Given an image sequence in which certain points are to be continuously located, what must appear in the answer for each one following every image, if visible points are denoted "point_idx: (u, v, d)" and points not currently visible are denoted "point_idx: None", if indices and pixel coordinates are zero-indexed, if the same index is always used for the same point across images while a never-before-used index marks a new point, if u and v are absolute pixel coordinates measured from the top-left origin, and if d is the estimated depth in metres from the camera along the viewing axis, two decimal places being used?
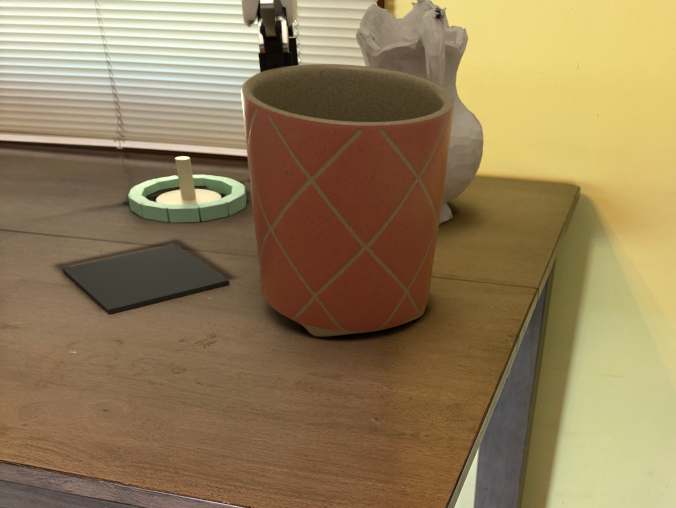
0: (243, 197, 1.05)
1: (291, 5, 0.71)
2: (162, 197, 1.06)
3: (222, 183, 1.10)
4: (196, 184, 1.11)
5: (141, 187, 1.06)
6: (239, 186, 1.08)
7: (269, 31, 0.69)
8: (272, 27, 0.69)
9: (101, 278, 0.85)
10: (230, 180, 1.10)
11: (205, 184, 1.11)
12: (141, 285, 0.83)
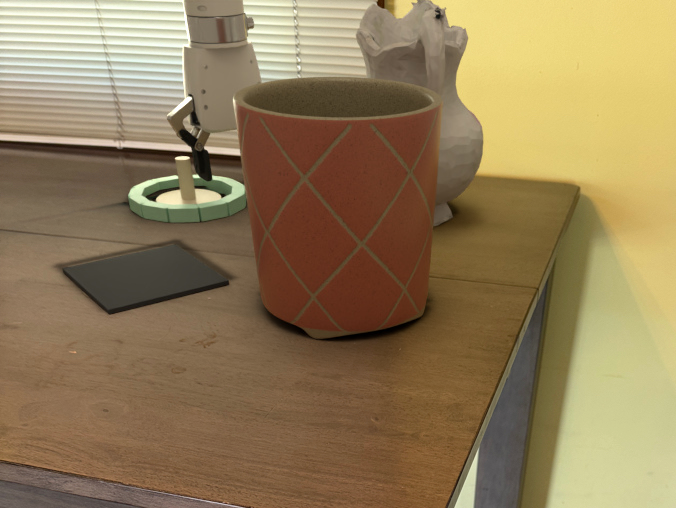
0: (243, 197, 1.05)
1: (203, 120, 1.00)
2: (162, 197, 1.06)
3: (222, 183, 1.10)
4: (196, 184, 1.11)
5: (141, 187, 1.06)
6: (239, 186, 1.08)
7: (178, 134, 1.01)
8: (177, 132, 1.01)
9: (101, 278, 0.85)
10: (230, 180, 1.10)
11: (205, 184, 1.11)
12: (141, 285, 0.83)
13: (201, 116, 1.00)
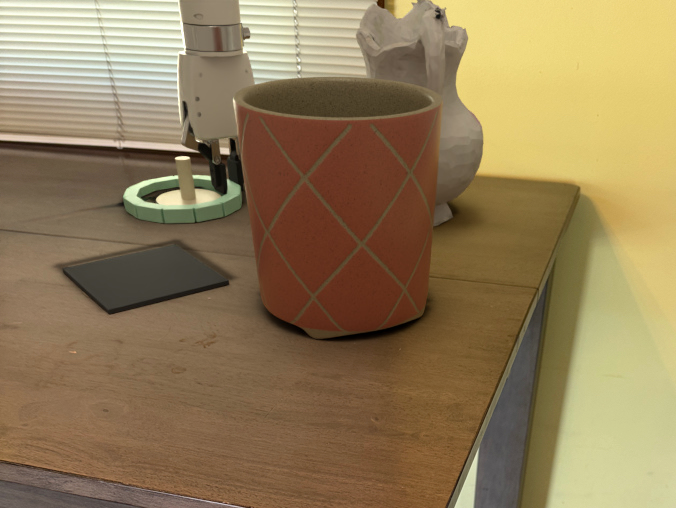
0: (238, 197, 1.05)
1: (197, 127, 1.00)
2: (162, 197, 1.06)
3: None
4: None
5: (136, 188, 1.06)
6: (234, 186, 1.07)
7: None
8: None
9: (101, 278, 0.85)
10: None
11: (201, 184, 1.11)
12: (141, 285, 0.83)
13: (194, 123, 1.00)
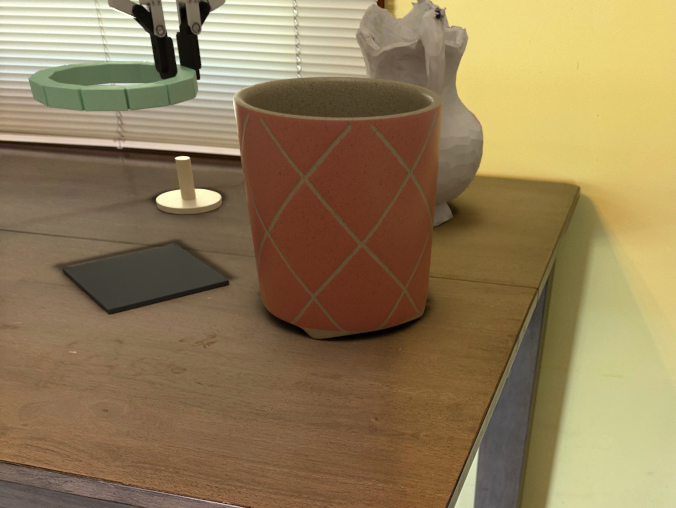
0: (191, 82, 0.76)
1: None
2: (162, 197, 1.06)
3: None
4: (130, 73, 0.81)
5: (50, 71, 0.77)
6: (187, 71, 0.78)
7: (133, 17, 0.75)
8: (131, 16, 0.74)
9: (101, 278, 0.85)
10: None
11: (143, 73, 0.81)
12: (141, 285, 0.83)
13: None
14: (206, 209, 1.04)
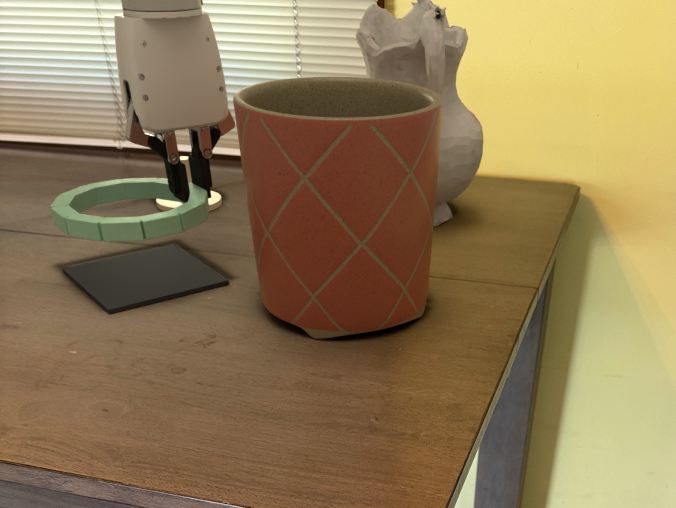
0: (203, 206, 0.80)
1: (143, 115, 0.75)
2: None
3: None
4: (145, 190, 0.86)
5: (70, 195, 0.81)
6: (199, 192, 0.83)
7: None
8: None
9: (101, 278, 0.85)
10: None
11: (157, 190, 0.86)
12: (141, 285, 0.83)
13: (140, 109, 0.75)
14: None
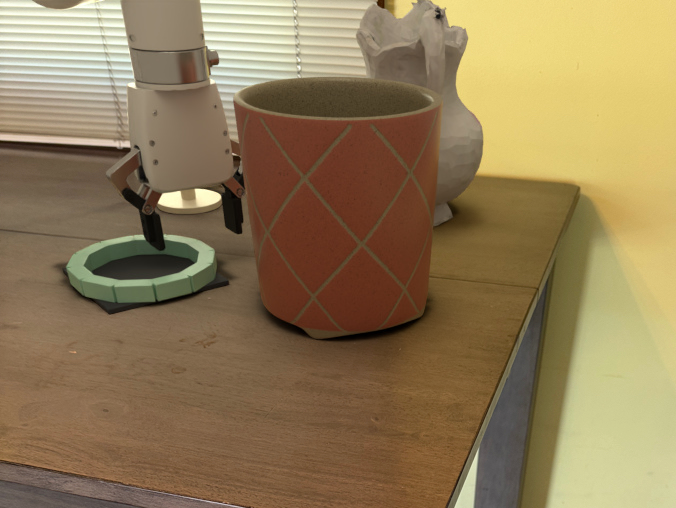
0: (211, 267, 0.84)
1: (153, 178, 0.79)
2: (162, 197, 1.06)
3: (187, 246, 0.89)
4: None
5: (85, 254, 0.85)
6: (207, 251, 0.87)
7: (120, 195, 0.80)
8: (119, 192, 0.80)
9: None
10: (197, 242, 0.89)
11: (166, 246, 0.90)
12: None
13: (150, 173, 0.79)
14: (206, 209, 1.04)
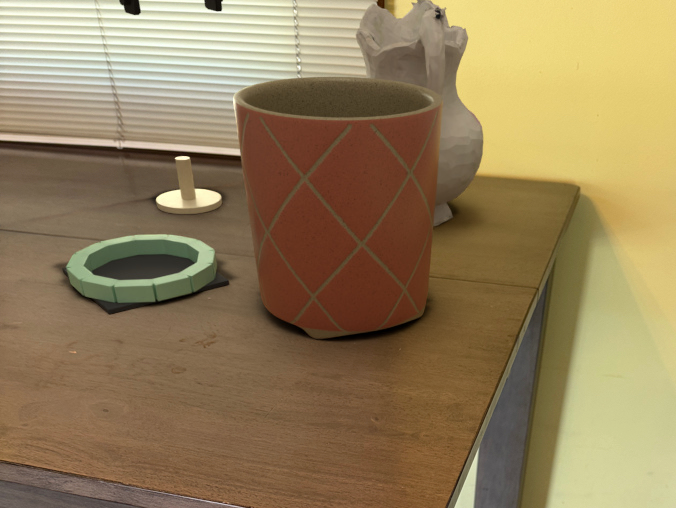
0: (211, 267, 0.84)
1: None
2: (162, 197, 1.06)
3: (187, 246, 0.89)
4: (155, 246, 0.90)
5: (85, 254, 0.85)
6: (207, 251, 0.87)
7: None
8: None
9: None
10: (197, 242, 0.89)
11: (166, 246, 0.90)
12: None
13: None
14: (206, 209, 1.04)
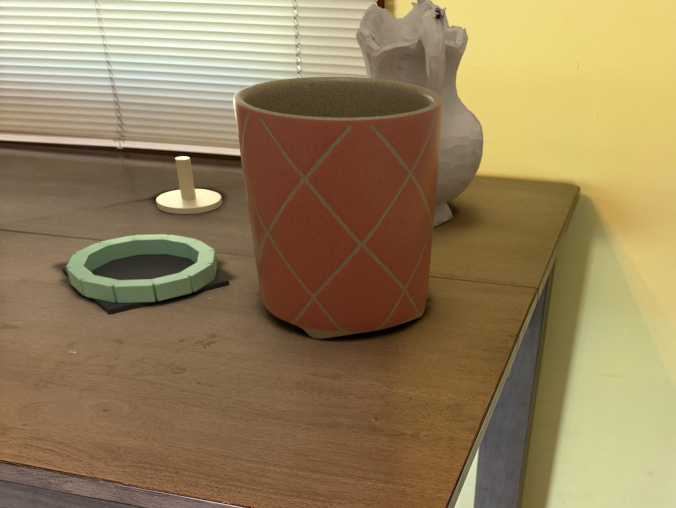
0: (211, 267, 0.84)
1: None
2: (162, 197, 1.06)
3: (187, 246, 0.89)
4: (155, 246, 0.90)
5: (85, 254, 0.85)
6: (207, 251, 0.87)
7: None
8: None
9: None
10: (197, 242, 0.89)
11: (166, 246, 0.90)
12: None
13: None
14: (206, 209, 1.04)
